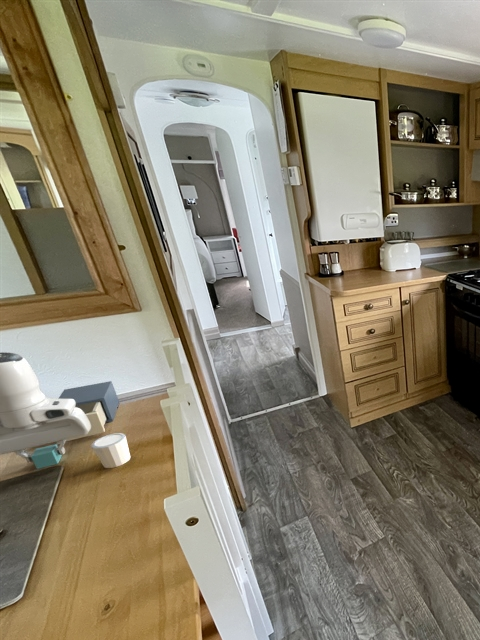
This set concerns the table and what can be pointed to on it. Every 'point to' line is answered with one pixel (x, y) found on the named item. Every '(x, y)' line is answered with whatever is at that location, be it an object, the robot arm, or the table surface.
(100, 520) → the table surface
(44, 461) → the teal cube
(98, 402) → the drawer
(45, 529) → the table surface
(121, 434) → the white faceted cup
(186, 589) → the table surface
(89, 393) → the blue drawer cabinet
